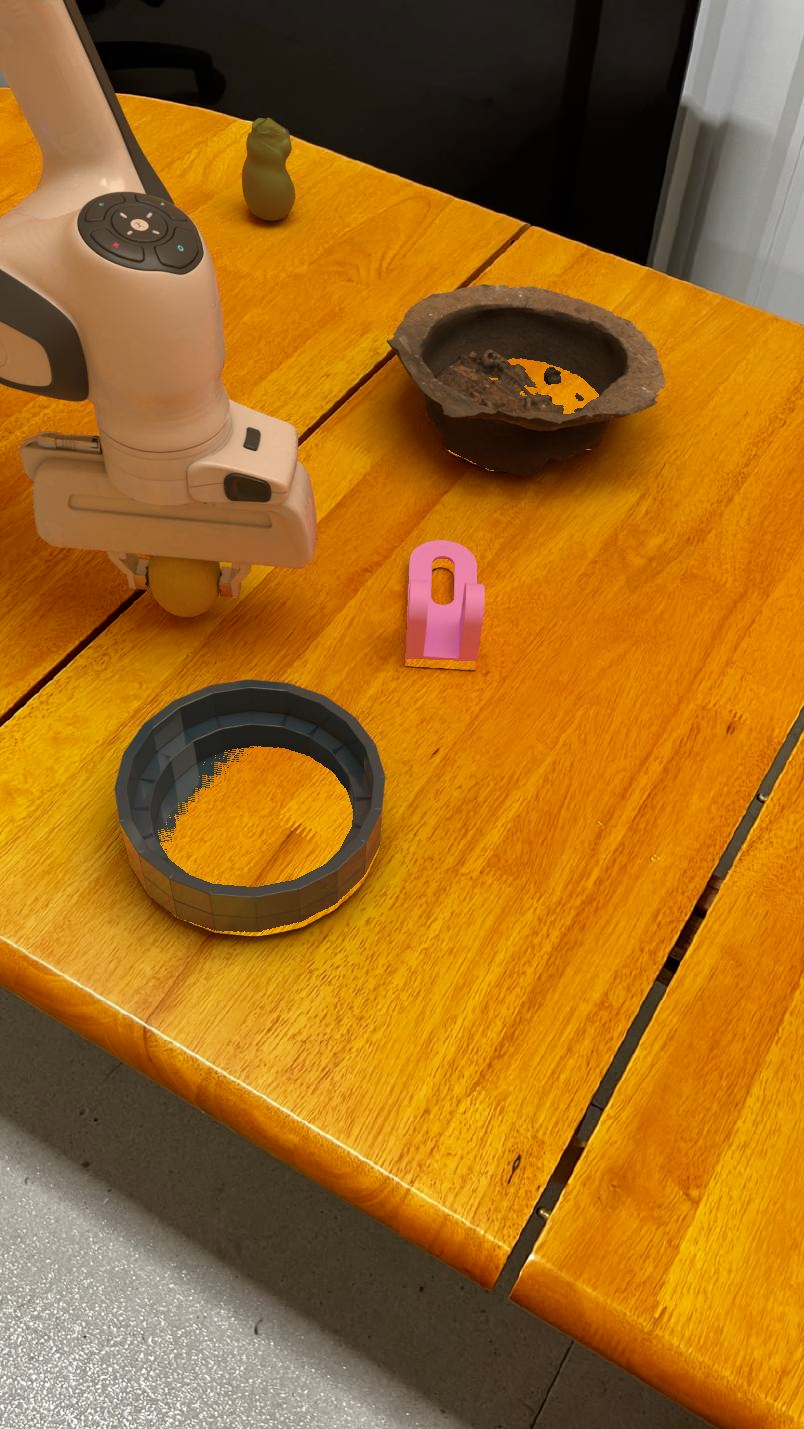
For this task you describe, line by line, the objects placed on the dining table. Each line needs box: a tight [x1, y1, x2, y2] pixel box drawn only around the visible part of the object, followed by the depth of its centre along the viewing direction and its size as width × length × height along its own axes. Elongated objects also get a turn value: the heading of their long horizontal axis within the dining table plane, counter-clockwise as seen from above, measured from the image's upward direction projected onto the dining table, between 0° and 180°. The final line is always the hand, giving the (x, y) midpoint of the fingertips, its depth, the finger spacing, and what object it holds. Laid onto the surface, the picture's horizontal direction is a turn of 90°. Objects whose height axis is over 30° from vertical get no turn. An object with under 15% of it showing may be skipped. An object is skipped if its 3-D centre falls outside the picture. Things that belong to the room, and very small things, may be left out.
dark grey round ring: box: [113, 679, 386, 932], centre depth 83 cm, size 18×18×6 cm
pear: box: [241, 117, 296, 222], centre depth 126 cm, size 6×5×10 cm
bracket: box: [404, 539, 486, 662], centre depth 97 cm, size 13×6×7 cm, turn 179°
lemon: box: [148, 555, 222, 618], centre depth 94 cm, size 6×6×8 cm
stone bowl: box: [385, 283, 666, 476], centre depth 111 cm, size 25×25×9 cm
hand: (186, 587), depth 95 cm, fingers closed on lemon, 6 cm apart
